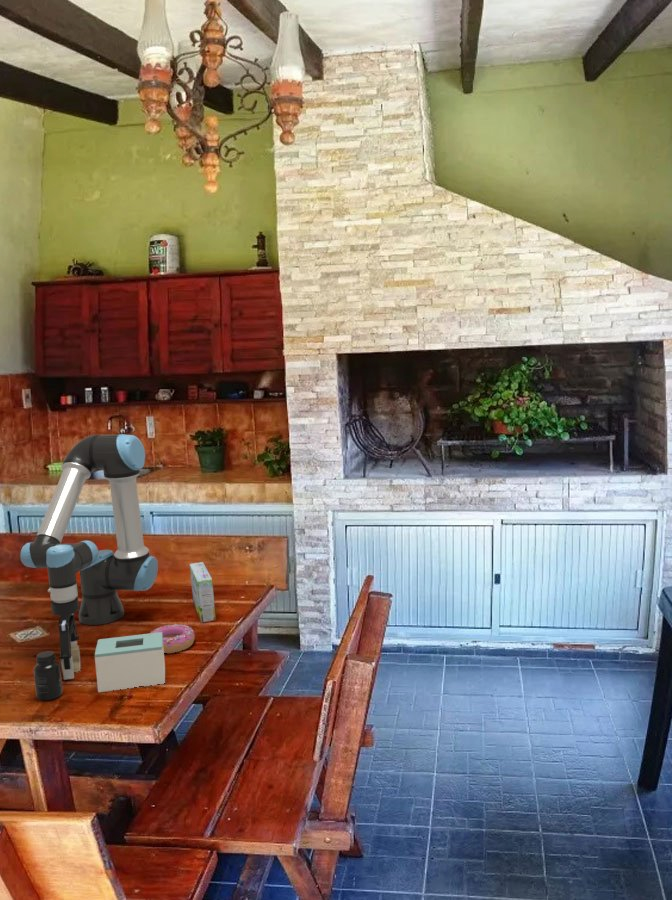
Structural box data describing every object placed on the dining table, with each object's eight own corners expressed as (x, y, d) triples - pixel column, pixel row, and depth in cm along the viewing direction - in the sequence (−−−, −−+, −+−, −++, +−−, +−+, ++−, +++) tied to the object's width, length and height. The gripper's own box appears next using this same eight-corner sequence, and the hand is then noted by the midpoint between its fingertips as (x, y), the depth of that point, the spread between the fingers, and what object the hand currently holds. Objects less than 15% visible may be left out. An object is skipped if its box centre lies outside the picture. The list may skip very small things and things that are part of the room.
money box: (101, 675, 226) (98, 639, 224) (165, 667, 229) (162, 631, 227) (98, 692, 215) (94, 654, 213) (164, 683, 218) (161, 646, 217)
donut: (204, 642, 247) (203, 627, 246) (172, 659, 235) (171, 643, 235) (171, 634, 255) (170, 619, 254) (138, 650, 243) (137, 634, 242)
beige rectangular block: (63, 669, 231) (61, 647, 230) (81, 667, 232) (78, 645, 230) (62, 674, 228) (59, 651, 227) (80, 672, 229) (77, 649, 228)
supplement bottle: (67, 694, 215) (63, 653, 213) (44, 704, 210) (39, 661, 208) (55, 687, 219) (50, 647, 217) (31, 696, 214) (27, 655, 212)
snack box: (191, 603, 282) (188, 563, 280) (207, 601, 284) (204, 561, 282) (200, 623, 262) (197, 580, 260) (216, 621, 264) (213, 578, 262)
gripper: (56, 587, 237) (63, 656, 240) (44, 614, 214) (52, 689, 218) (82, 584, 238) (88, 653, 242) (73, 611, 216) (80, 685, 219)
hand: (71, 670), depth 230 cm, fingers open, 11 cm apart
